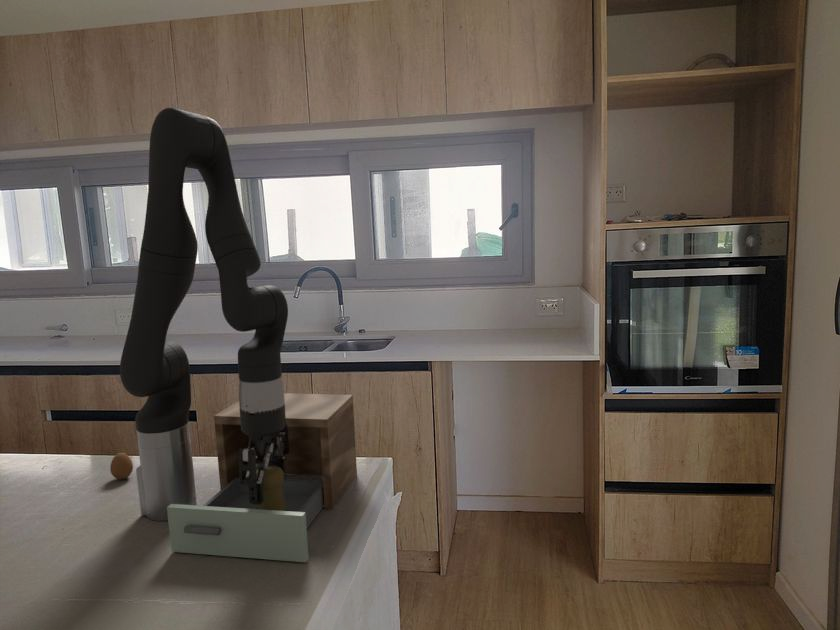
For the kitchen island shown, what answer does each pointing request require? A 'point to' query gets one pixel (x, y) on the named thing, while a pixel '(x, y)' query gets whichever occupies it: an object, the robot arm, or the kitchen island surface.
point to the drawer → (248, 523)
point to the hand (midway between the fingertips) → (267, 492)
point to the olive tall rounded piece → (272, 489)
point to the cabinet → (300, 441)
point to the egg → (121, 466)
